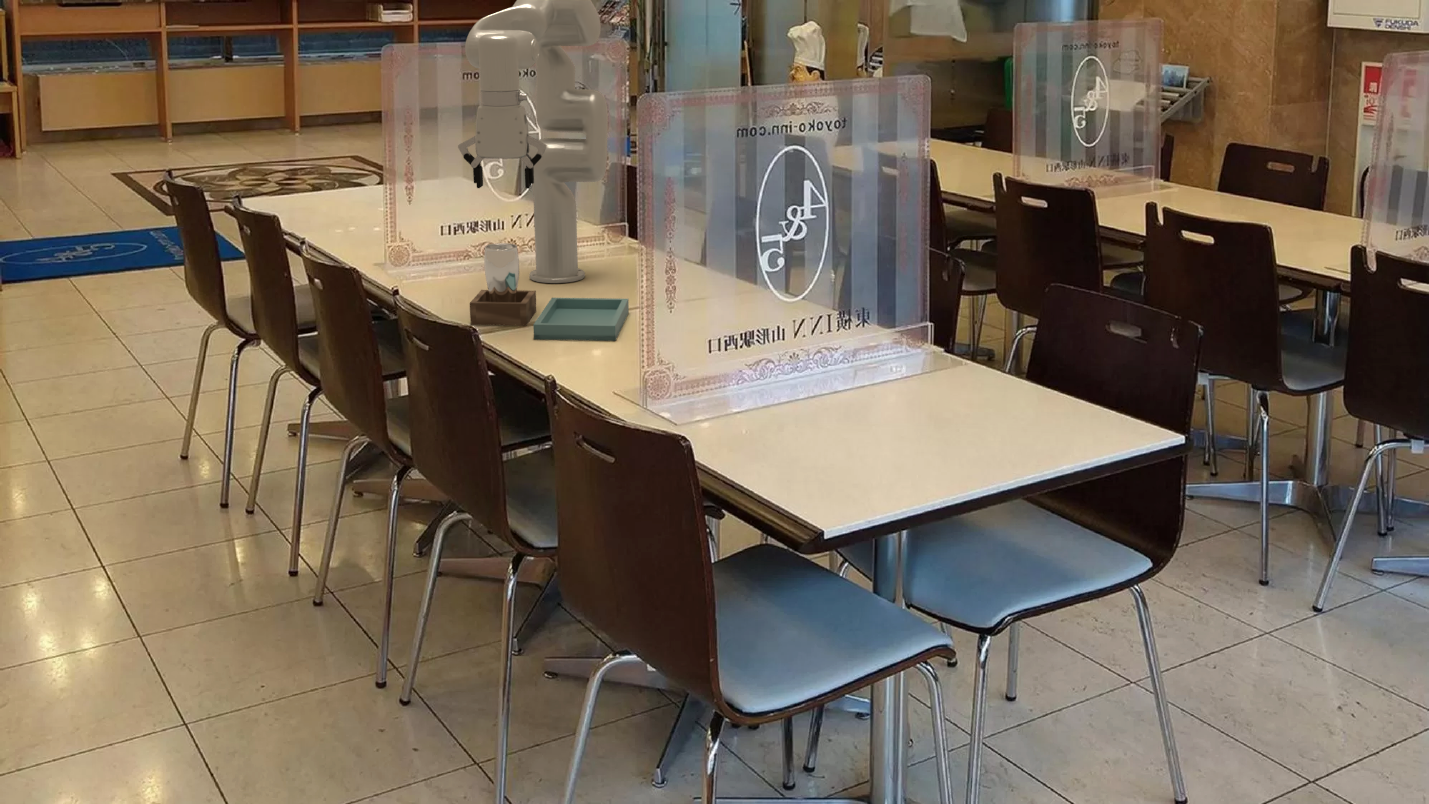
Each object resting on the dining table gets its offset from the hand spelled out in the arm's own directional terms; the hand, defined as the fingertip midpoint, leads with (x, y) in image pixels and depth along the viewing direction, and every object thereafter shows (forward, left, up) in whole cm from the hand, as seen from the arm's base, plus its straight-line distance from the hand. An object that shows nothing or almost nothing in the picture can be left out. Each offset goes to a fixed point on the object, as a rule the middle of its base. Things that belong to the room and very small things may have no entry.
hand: (504, 187), depth 295 cm
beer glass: (-3, -2, -28) cm, 28 cm away
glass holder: (-3, -2, -28) cm, 28 cm away
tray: (+2, +15, -28) cm, 31 cm away
